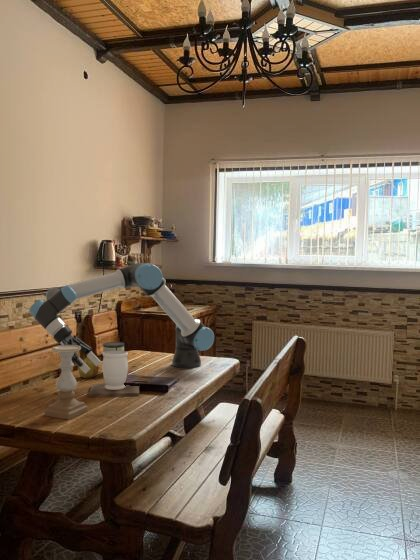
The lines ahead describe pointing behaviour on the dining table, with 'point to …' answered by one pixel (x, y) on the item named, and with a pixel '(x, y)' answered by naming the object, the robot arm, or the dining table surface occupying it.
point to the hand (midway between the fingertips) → (93, 367)
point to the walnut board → (112, 391)
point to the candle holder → (66, 387)
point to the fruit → (92, 371)
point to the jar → (115, 369)
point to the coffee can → (113, 346)
